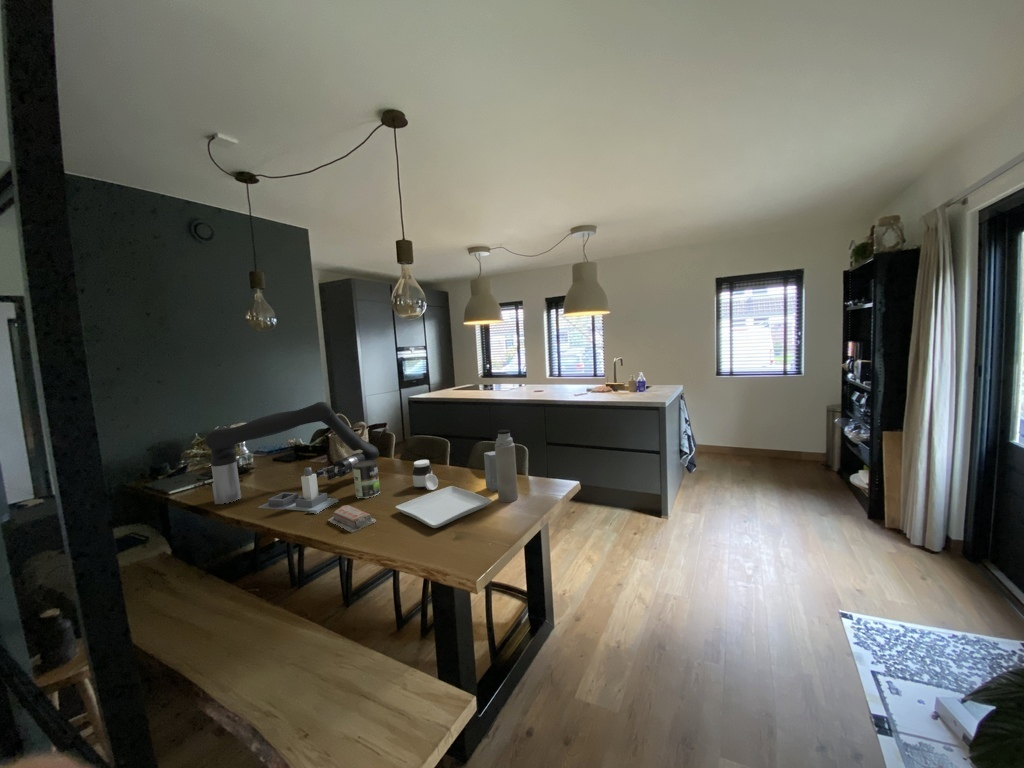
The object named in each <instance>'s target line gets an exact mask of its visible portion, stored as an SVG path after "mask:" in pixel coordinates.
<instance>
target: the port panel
mask: <svg viewBox="0 0 1024 768" xmlns="http://www.w3.org/2000/svg"><path fill="white" fill-rule="evenodd" d="M318 493H319V496H318V497H316V498H314V499H312V500H311V499H304V497H303V495H301V496H302V497H300V498H298V499H296V500H295V502H296V503H294V504H292V505H290V506H288V507H286V508H285V509H284V510H289V511H292V510H293V511H300V512H301V511H304V512H306V514H310V513H314V515H318V514H320V513H321V512H320V511H322V510H323V509H325V508H327V507H329V506H330V505H332V504H334V503H336V502H338V503H339V498H332V497H329V498H328V492H318ZM336 504H337V503H336ZM334 505H335V504H334ZM329 508H330V507H329ZM327 509H328V508H327ZM325 510H326V509H325ZM319 512H320V513H319ZM322 512H323V511H322ZM317 513H318V514H317Z"/></svg>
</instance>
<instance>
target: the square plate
mask: <svg viewBox="0 0 1024 768" xmlns="http://www.w3.org/2000/svg"><path fill="white" fill-rule="evenodd" d="M492 501H493V499H490V498H488V497H486V496H483V495H481V494H478V493H475V492H473V491H469V490H466V489H464V488H459V487H457V486H453V485H450V486H447V487H443V488H441V489H438V490H435V491H434V490H433V491H432V492H429V493H426V494H424V495H421V496H418V497H415V498H413V499H410V500H409V501H405V502H403V503H400V504H398V505H396V506H394V509H396V510H398V511H399V512H401V513H402V514H403V515H406V516H408V517H411V518H413V519H415V520H417V521H419V522H421V523H423V524H425V525H426V526H428V527H431V528H433V529H437V528H440V527H443V526H445V525H447V524H449V523H451V522H454V521H456V520H458V519H460V518H463V517H464V516H467V515H469V514H472V513H474V512H476V511H479V510H481V509H484V508H485V507H486V506H488V505H489V504H490V503H491V502H492Z"/></svg>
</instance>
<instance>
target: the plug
mask: <svg viewBox="0 0 1024 768" xmlns="http://www.w3.org/2000/svg"><path fill="white" fill-rule="evenodd" d="M300 478H301V479H300V481H301V486H302V496H303V497H304V499H311V500H312V499H314V498H316V497H318V496H319V493H320V492H319V487H318V478H317V476H316V474H313V471H312V466H310V467H308V466H307V467H305V468H304V475H302V476H301V477H300Z"/></svg>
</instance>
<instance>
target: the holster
mask: <svg viewBox="0 0 1024 768" xmlns="http://www.w3.org/2000/svg"><path fill="white" fill-rule="evenodd" d="M302 496H303V495H299V493H298V492H281V493H279V494H277V495H274V496H272V497H270V498H267V503H264V504H262V505H259V506H257V507H256V508H257V509H258V508H259V509H260V508H261V509H270V510H271V509H272V510H286V509H285V508H286V507H288V506H290V505H292V504H294V503H296V502H295V500H296V499H298V498H300V497H302Z"/></svg>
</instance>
